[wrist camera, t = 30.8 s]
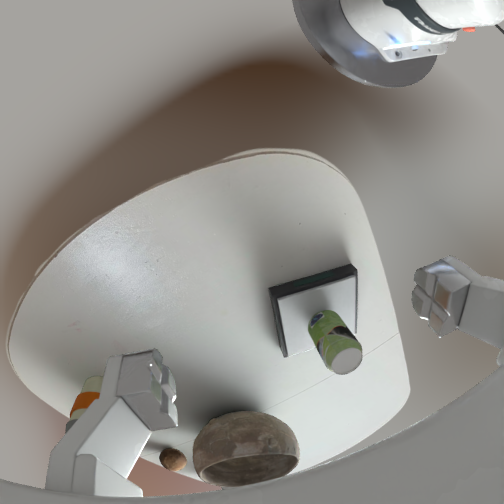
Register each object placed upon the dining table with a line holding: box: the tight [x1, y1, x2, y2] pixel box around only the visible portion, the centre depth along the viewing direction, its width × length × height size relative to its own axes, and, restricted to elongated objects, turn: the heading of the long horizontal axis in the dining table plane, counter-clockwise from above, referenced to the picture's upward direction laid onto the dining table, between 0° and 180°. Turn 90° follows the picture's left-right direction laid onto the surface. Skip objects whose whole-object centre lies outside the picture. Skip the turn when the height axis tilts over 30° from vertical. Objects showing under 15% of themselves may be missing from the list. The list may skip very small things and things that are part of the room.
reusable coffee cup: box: [65, 376, 103, 434], centre depth 47 cm, size 13×13×15 cm
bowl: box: [193, 411, 300, 487], centre depth 59 cm, size 24×24×15 cm
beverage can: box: [308, 310, 362, 375], centre depth 45 cm, size 6×7×12 cm
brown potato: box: [159, 448, 187, 471], centre depth 67 cm, size 8×8×6 cm
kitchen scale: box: [269, 264, 357, 358], centre depth 52 cm, size 15×15×3 cm
